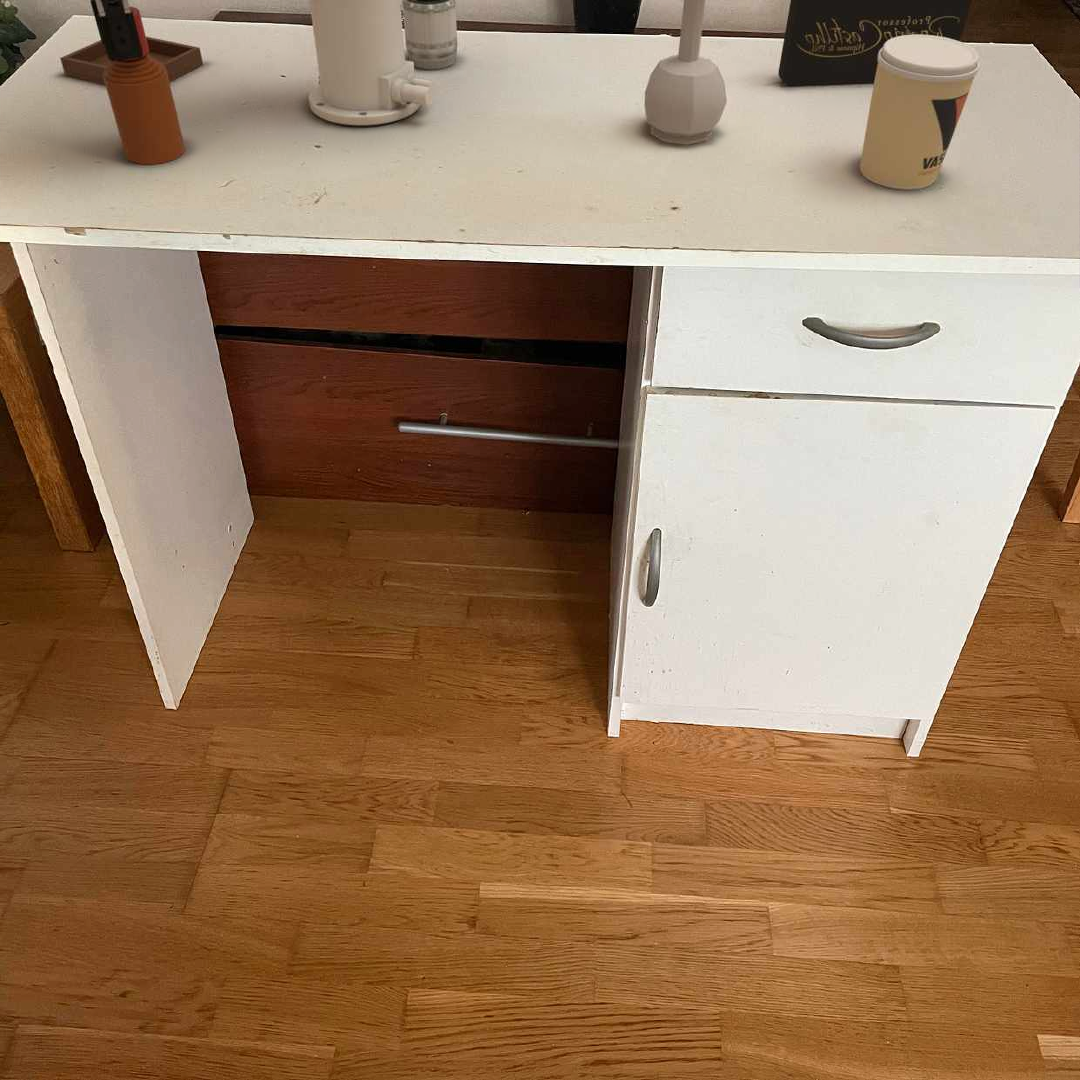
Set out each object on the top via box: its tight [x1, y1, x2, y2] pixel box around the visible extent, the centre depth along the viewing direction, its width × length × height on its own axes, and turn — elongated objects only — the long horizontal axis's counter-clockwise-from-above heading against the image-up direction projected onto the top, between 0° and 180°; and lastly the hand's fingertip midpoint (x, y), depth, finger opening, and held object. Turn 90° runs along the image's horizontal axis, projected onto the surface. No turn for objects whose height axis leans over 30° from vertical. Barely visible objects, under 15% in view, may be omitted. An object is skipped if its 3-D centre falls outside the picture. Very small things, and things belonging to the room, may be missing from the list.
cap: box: [126, 6, 149, 60], centre depth 97 cm, size 4×4×4 cm
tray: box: [60, 36, 204, 85], centre depth 120 cm, size 12×10×2 cm
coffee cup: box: [859, 35, 981, 191], centre depth 100 cm, size 9×9×12 cm
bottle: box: [103, 55, 186, 165], centre depth 101 cm, size 6×6×13 cm
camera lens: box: [401, 0, 458, 70], centre depth 122 cm, size 6×6×8 cm
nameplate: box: [777, 0, 973, 88], centre depth 118 cm, size 21×2×10 cm, turn 98°
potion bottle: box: [644, 0, 728, 145], centre depth 104 cm, size 9×9×18 cm
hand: (122, 48), depth 98 cm, fingers closed on cap, 3 cm apart
